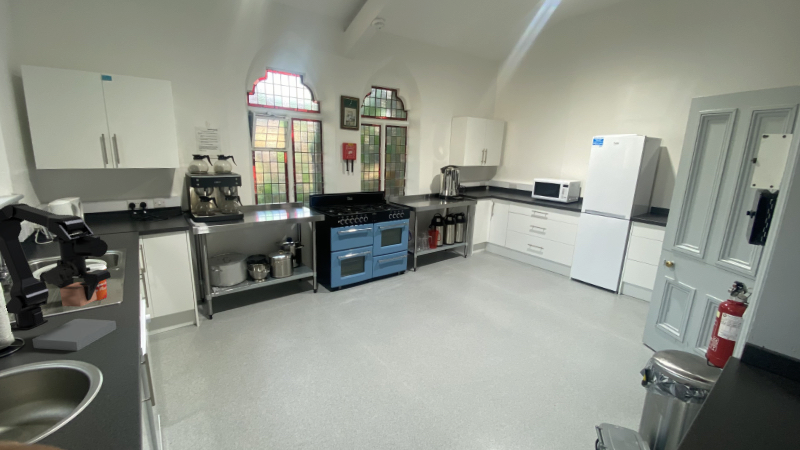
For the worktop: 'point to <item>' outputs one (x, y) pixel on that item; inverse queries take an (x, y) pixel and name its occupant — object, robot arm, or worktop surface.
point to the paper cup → (102, 286)
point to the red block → (75, 295)
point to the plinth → (74, 334)
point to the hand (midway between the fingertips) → (79, 299)
